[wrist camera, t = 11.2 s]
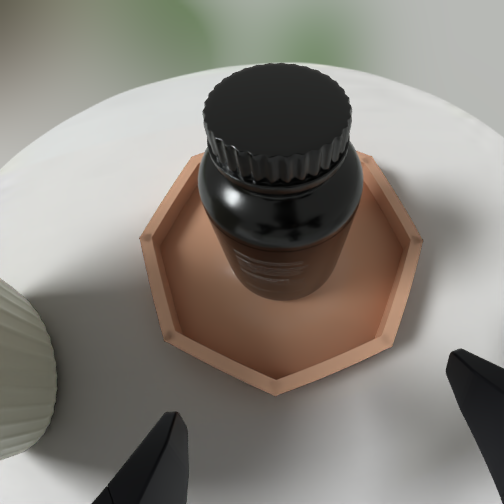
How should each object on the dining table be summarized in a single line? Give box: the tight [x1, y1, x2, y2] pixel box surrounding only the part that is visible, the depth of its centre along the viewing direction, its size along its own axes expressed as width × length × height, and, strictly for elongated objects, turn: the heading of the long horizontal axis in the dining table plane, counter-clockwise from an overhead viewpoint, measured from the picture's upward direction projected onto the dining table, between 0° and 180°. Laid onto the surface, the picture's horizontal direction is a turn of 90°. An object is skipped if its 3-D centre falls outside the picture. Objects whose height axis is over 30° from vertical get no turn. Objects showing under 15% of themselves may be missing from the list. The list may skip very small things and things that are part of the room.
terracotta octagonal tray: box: [139, 151, 423, 396], centre depth 20 cm, size 17×17×2 cm
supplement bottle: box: [198, 63, 363, 301], centre depth 15 cm, size 7×7×12 cm
